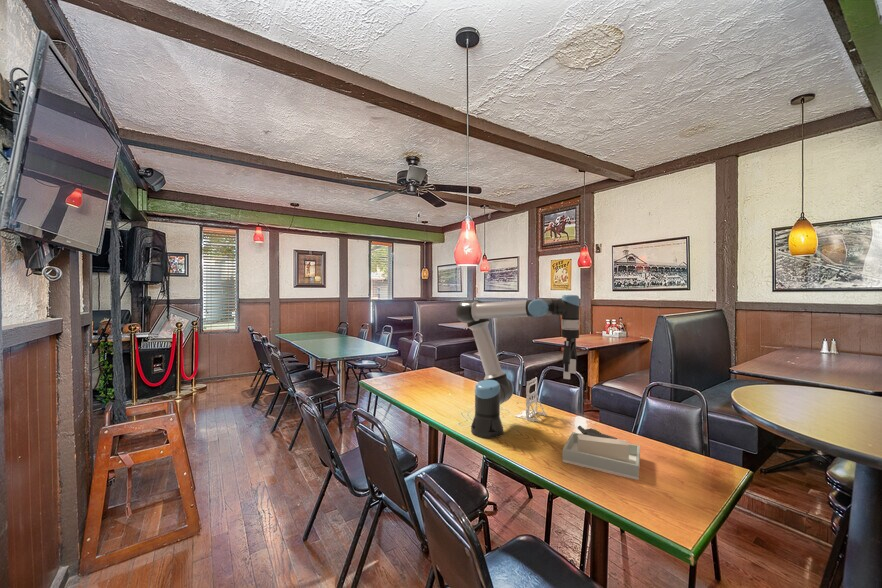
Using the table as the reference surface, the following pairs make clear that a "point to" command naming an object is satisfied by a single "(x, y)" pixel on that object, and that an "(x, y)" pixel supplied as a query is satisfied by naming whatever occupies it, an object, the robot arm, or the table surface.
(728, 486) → the table surface
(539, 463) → the table surface
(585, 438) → the beige rectangular block
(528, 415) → the film strip holder
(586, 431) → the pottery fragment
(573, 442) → the divided grey tray
